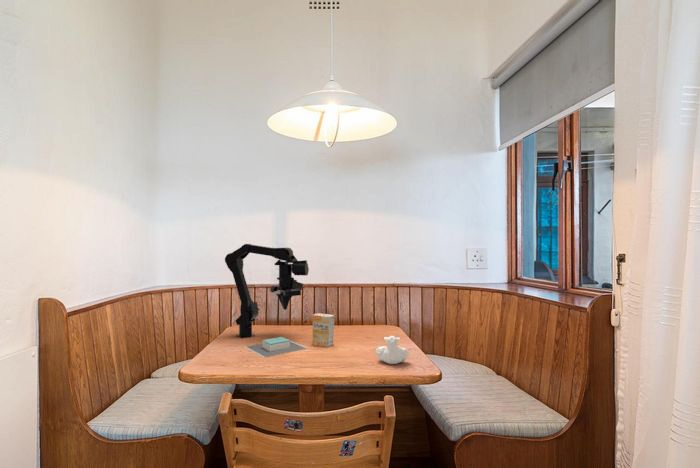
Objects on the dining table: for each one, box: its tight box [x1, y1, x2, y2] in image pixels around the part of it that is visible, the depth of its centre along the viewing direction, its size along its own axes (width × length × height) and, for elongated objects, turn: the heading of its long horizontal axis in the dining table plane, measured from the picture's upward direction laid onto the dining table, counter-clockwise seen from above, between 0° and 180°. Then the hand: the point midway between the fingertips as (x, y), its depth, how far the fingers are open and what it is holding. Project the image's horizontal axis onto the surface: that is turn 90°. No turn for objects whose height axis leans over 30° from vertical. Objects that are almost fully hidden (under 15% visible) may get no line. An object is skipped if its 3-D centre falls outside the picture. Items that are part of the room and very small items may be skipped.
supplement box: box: [311, 312, 335, 348], centre depth 159 cm, size 8×5×13 cm, turn 65°
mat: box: [244, 340, 309, 359], centre depth 154 cm, size 18×20×1 cm
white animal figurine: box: [375, 335, 409, 365], centre depth 136 cm, size 12×8×11 cm
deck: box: [261, 336, 291, 351], centre depth 154 cm, size 3×9×7 cm
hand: (285, 309), depth 170 cm, fingers closed
